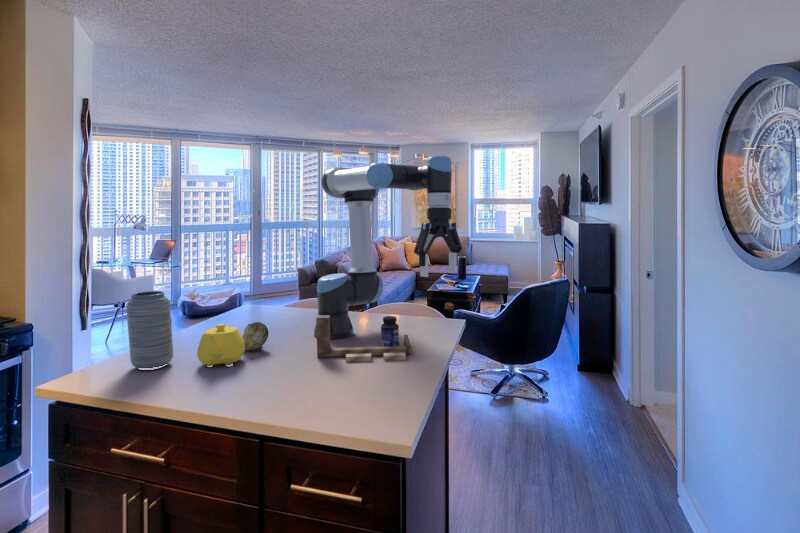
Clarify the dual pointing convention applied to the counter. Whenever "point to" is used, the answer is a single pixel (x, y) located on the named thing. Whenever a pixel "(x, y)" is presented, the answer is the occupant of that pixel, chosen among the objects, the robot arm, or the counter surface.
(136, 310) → the vase
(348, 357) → the broken strip
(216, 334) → the yellow faceted lidded jar
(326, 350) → the wooden stand
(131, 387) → the counter surface
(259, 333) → the seashell
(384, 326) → the pill bottle
